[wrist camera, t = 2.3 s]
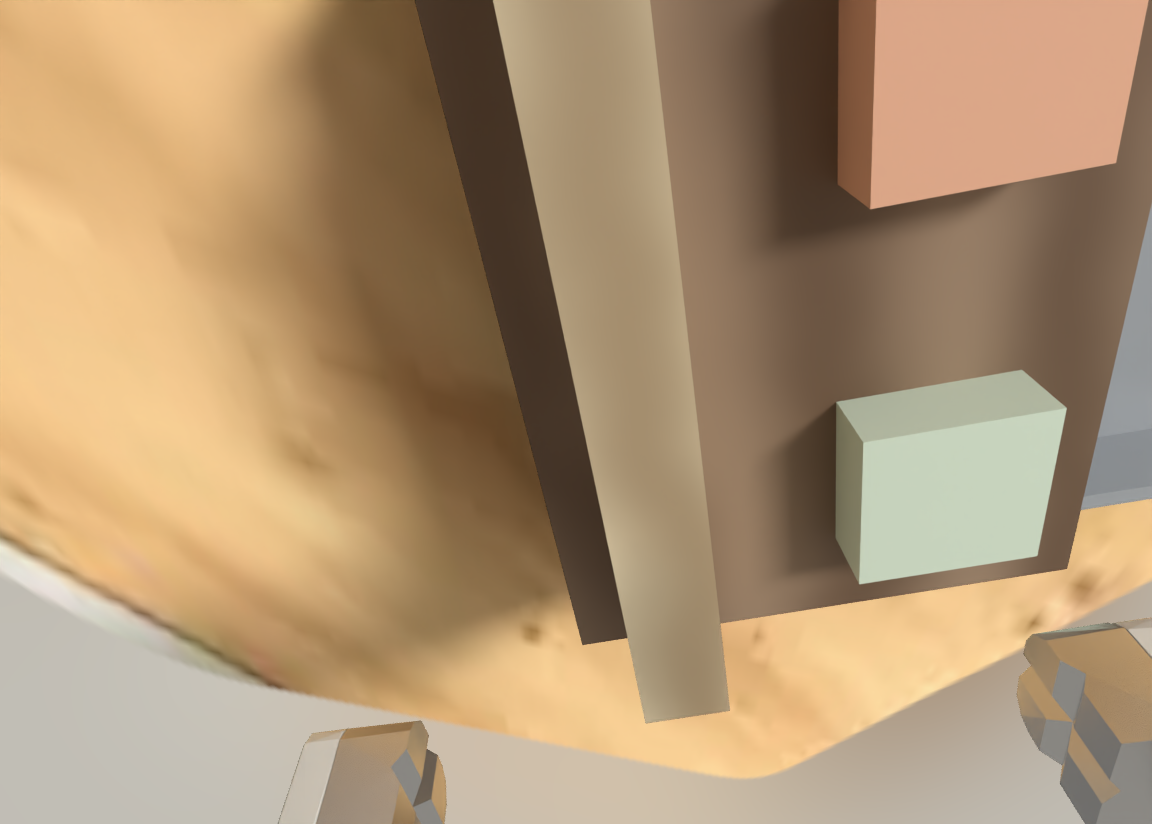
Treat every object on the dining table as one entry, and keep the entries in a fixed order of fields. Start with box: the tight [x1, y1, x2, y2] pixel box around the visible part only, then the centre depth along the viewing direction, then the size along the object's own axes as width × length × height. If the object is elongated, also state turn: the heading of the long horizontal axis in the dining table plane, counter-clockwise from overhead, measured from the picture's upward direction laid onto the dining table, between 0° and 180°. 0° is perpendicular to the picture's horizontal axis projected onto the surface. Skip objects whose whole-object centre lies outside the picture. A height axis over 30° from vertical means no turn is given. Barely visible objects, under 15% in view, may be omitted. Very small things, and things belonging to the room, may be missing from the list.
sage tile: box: [836, 370, 1067, 584], centre depth 21 cm, size 5×5×2 cm
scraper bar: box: [493, 0, 730, 723], centre depth 17 cm, size 2×20×4 cm, turn 10°
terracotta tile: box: [838, 0, 1149, 209], centre depth 15 cm, size 5×5×2 cm
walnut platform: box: [415, 0, 1152, 645], centre depth 21 cm, size 16×22×6 cm
